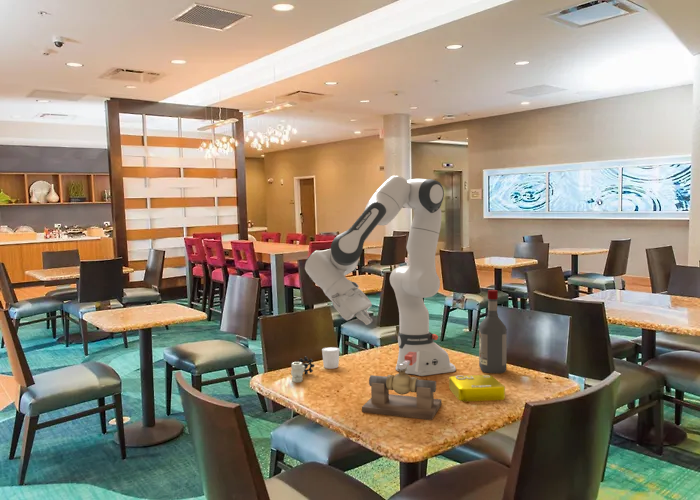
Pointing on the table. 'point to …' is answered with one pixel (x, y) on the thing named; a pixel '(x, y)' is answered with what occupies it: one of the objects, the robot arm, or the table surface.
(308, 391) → the table surface
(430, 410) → the valve stand
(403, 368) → the valve lever
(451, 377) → the element tile
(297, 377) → the valve
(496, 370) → the liquor
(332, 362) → the white cylinder
